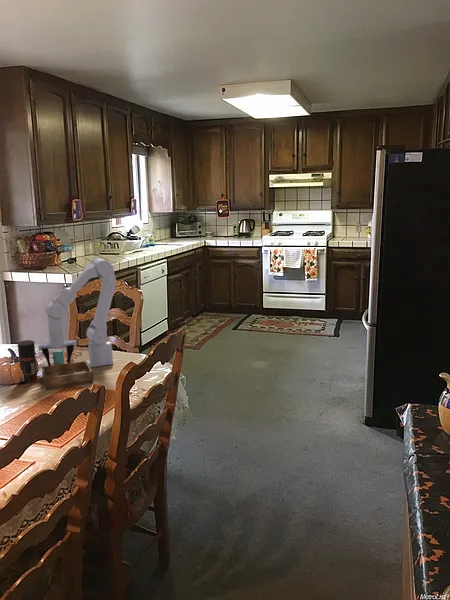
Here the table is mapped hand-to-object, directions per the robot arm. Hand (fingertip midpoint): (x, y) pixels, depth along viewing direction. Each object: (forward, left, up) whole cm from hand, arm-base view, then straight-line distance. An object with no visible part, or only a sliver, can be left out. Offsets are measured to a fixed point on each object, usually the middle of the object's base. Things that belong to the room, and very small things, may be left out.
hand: (59, 364), depth 212 cm
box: (-2, +13, -2) cm, 13 cm away
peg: (0, 0, -2) cm, 2 cm away
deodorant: (+12, +6, -2) cm, 14 cm away
